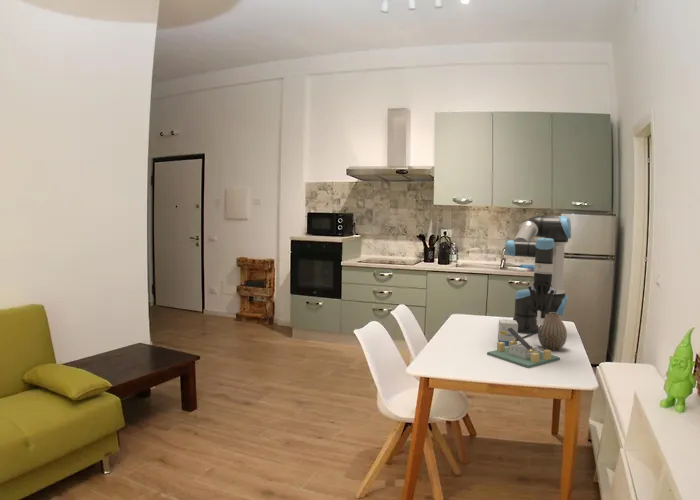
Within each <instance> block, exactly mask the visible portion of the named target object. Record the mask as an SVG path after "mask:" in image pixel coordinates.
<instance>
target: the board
mask: <svg viewBox="0 0 700 500" xmlns="http://www.w3.org/2000/svg"><path fill="white" fill-rule="evenodd" d="M496 344H497V345H496V349H494V350H491V351H490V350H489V351H487V352H486V355H487V356H489V357H493V358H495V359H498V360H503V361H505V362H508V363H510V364H514V365H517V366H519V367H523V368H526V369H531V368H534V367H538V366H541V365H546V364H549V363H553V362H557V361H560V360H561V356H556V355H553V354H552V350H548V349H544V350H542V351H540V350H538V346H533V345H530V346H531V347H532V348H533V349H535V351H532V352H529V350H528V349H527V348H526V347H525V346H524V345H523V344H521V343H518V341H517V342H513V341H509V346H507V347H506V346H505V343H504V342H498V341H497V342H496Z"/></svg>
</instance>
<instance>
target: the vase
mask: <svg viewBox="0 0 700 500" xmlns="http://www.w3.org/2000/svg"><path fill="white" fill-rule="evenodd" d="M538 326H539V325H538ZM538 331H542V332H541V333H538V334H537V339H538V342H539V343H540V345H541V346H542V347H543V348H544V350H547V349H548V350H551V351H559V350H560V349H561V348H563V347H564V346H565V344H566V342H567V338H568V331H567V328H566V325H565V323H564V322H563V321H562V319H561V318H560V316H559V315H558V313H554V312H549V314H548V315H547V316H545V318H544V321H543V325H540V326H539V329H538Z"/></svg>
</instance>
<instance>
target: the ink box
mask: <svg viewBox="0 0 700 500" xmlns="http://www.w3.org/2000/svg"><path fill="white" fill-rule="evenodd" d="M508 328H512V329H513V330H514V331H515V332H516V333H517V334H518V333H519V332H518V323H517V322H516V320H513V319H503V318H502V319H501V318H500V319H498V331H497V332H498V333H497V343H498V342H504V343H505V347H509V341H513V340H515V339H516V338H515V337H514V336H513V335H512V334H511V333H510V332H509V331H508ZM516 342H517V343H518V341H516Z"/></svg>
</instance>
